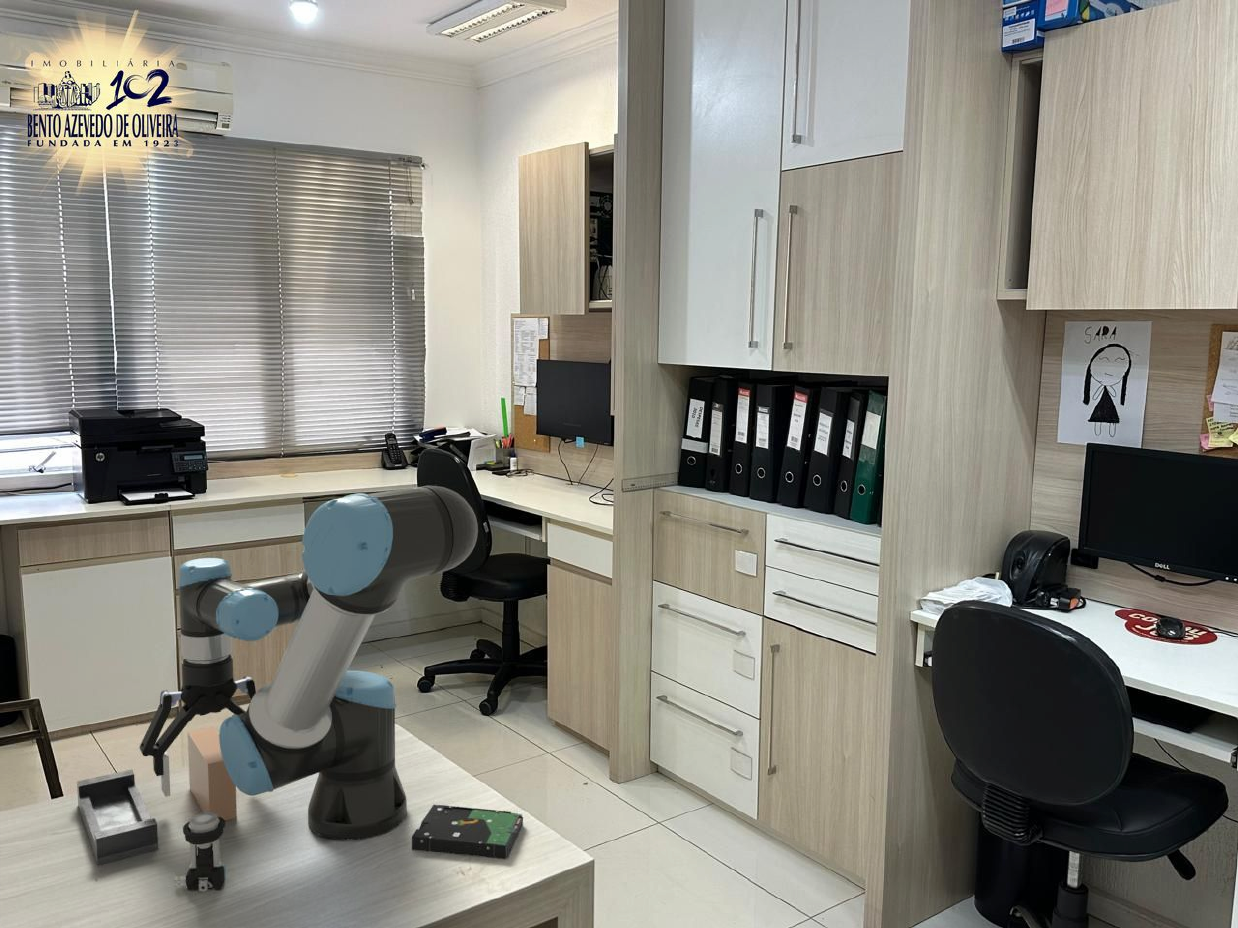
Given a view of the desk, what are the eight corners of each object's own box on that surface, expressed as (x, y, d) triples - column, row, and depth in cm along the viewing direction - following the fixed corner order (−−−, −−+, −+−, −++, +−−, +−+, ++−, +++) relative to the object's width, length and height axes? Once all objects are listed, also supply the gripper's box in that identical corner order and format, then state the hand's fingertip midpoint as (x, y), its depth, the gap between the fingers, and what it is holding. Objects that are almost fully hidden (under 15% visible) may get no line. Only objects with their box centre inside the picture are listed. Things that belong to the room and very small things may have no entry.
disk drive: (410, 854, 146) (508, 862, 144) (410, 836, 145) (508, 844, 143) (432, 820, 156) (523, 827, 154) (432, 803, 155) (523, 810, 154)
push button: (170, 899, 132) (167, 829, 130) (181, 877, 137) (178, 810, 136) (222, 895, 133) (219, 827, 132) (231, 874, 138) (228, 807, 137)
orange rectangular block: (236, 817, 154) (234, 757, 152) (209, 824, 152) (207, 763, 150) (215, 783, 165) (213, 726, 164) (189, 789, 163) (187, 732, 161)
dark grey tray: (158, 848, 144) (157, 823, 144) (97, 865, 140) (96, 838, 139) (133, 792, 161) (132, 769, 160) (78, 804, 156) (76, 781, 156)
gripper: (280, 636, 165) (282, 755, 168) (116, 662, 151) (122, 791, 154) (293, 649, 159) (296, 772, 162) (124, 677, 145) (130, 812, 148)
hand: (211, 782), depth 158 cm, fingers open, 13 cm apart
